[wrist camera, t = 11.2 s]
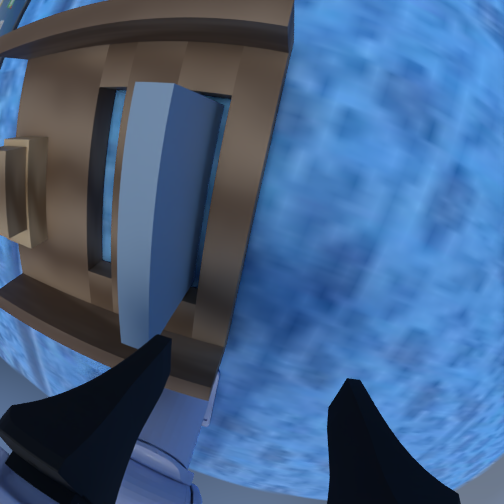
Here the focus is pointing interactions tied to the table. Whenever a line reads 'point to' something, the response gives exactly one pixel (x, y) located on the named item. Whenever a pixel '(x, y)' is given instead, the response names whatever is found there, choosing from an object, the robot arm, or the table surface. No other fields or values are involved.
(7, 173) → the offcut top
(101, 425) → the robot arm
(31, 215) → the block
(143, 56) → the rack
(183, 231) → the sheet
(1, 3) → the tablet
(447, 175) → the table surface
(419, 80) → the table surface
